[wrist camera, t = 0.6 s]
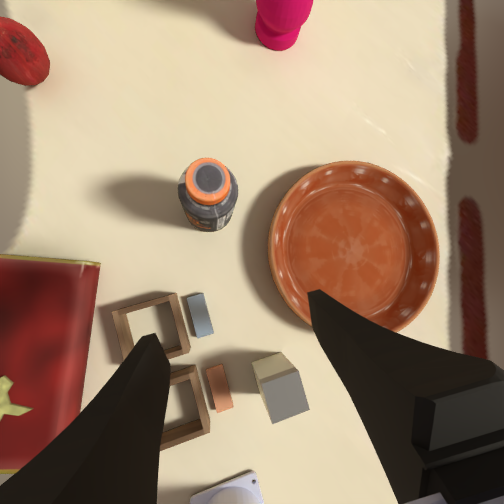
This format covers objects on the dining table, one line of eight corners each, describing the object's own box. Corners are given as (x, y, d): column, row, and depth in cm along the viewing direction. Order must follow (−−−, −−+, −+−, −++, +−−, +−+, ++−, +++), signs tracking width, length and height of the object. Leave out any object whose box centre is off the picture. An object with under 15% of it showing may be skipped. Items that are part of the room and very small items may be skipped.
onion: (73, 73, 34) (30, 11, 26) (45, 109, 33) (-7, 56, 25) (30, 47, 33) (-27, -24, 25) (1, 83, 32) (-67, 21, 25)
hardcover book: (103, 263, 33) (87, 261, 28) (78, 447, 30) (57, 474, 26) (-7, 254, 31) (-41, 250, 27) (-42, 448, 29) (-85, 477, 25)
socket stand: (235, 411, 33) (236, 422, 30) (152, 441, 31) (147, 455, 29) (201, 285, 34) (200, 286, 31) (119, 309, 32) (111, 311, 29)
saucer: (333, 138, 38) (346, 124, 35) (448, 243, 39) (472, 240, 36) (228, 258, 35) (230, 256, 31) (358, 371, 36) (375, 382, 32)
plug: (289, 383, 34) (309, 409, 27) (260, 393, 33) (272, 424, 26) (281, 352, 34) (298, 370, 27) (251, 362, 34) (261, 384, 27)
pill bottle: (175, 208, 34) (157, 174, 23) (210, 178, 35) (208, 132, 24) (208, 242, 34) (206, 225, 23) (241, 211, 35) (255, 180, 24)
